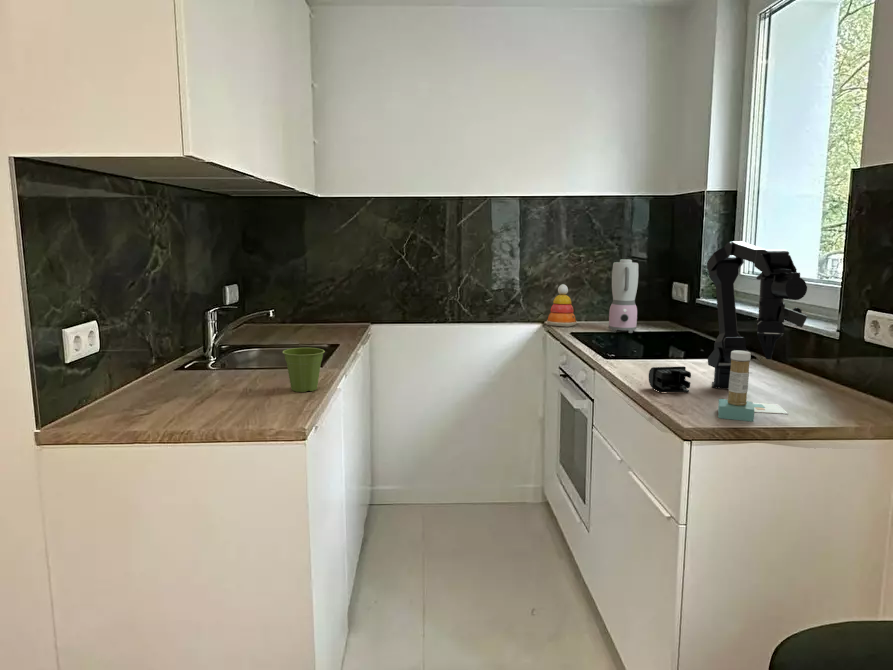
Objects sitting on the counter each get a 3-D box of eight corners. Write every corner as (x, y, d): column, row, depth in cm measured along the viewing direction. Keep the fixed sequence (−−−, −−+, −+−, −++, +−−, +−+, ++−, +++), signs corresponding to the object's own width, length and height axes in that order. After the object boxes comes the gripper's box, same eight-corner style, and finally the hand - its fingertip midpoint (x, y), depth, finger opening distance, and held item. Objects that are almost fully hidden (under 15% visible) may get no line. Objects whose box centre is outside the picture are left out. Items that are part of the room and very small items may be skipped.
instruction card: (730, 402, 184) (730, 401, 184) (777, 405, 182) (777, 403, 182) (738, 411, 175) (738, 410, 175) (788, 414, 173) (788, 413, 173)
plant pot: (325, 393, 190) (324, 354, 188) (282, 395, 188) (280, 355, 186) (326, 384, 201) (325, 346, 199) (285, 385, 199) (283, 347, 197)
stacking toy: (573, 328, 312) (575, 286, 309) (543, 326, 317) (544, 285, 314) (579, 324, 325) (580, 283, 322) (549, 322, 330) (551, 282, 327)
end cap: (678, 386, 202) (680, 364, 201) (691, 392, 195) (692, 369, 194) (647, 387, 200) (648, 365, 199) (658, 393, 193) (660, 370, 192)
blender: (607, 328, 313) (610, 258, 308) (634, 329, 311) (638, 259, 306) (609, 333, 297) (613, 260, 292) (638, 334, 295) (642, 261, 290)
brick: (717, 409, 176) (718, 398, 176) (751, 413, 174) (752, 401, 173) (718, 418, 169) (719, 406, 169) (753, 421, 166) (754, 409, 166)
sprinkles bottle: (738, 401, 174) (742, 349, 172) (750, 405, 169) (755, 352, 167) (723, 402, 172) (727, 350, 170) (735, 406, 168) (739, 353, 166)
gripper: (808, 300, 166) (804, 363, 167) (803, 296, 182) (800, 354, 184) (758, 299, 170) (755, 361, 172) (758, 295, 187) (755, 351, 189)
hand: (768, 356), depth 179 cm, fingers open, 9 cm apart
